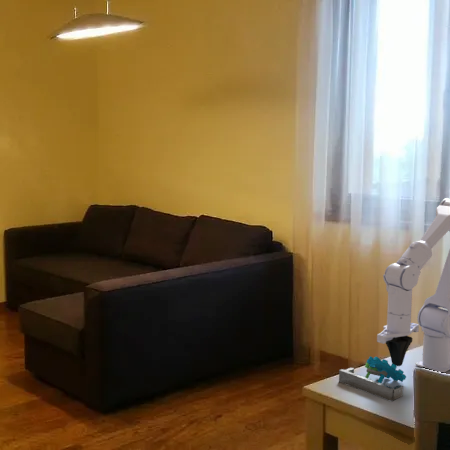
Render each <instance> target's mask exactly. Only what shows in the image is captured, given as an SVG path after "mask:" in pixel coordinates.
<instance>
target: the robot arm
mask: <svg viewBox="0 0 450 450" xmlns="http://www.w3.org/2000/svg"><path fill="white" fill-rule="evenodd" d="M448 232H450V198H449V197H446V198H444V199H442V200H441V202H440V203H439V205H438V206H437V207H436V210H435V217H434V219H433V221H432V222H431V223H430V225H429V226H428V227H427V229H426V231H425V233H424V234H423V235H422V237H421V238H420V240H414V241H412V242H411V243H410V244H408V245H409V246H408V247H407V248H406V250H405V251H404V252H403V253H402V255H401V256H400V257H399V258H398V260H397V261H396V262H393V263H391V264H389V265H388V266H387V267H386V269H385V270H384V274H383V275H382V277H383V282H384V283H385V286H386V287H385V288H386V292H387V311H386V313H387V315H386V325H383V326H382V327H383V330H382V331H381V332H380V333H377V335H376V342H377V343H379V344H383V345H385V344H386V347H387V349H388V353H389V355H390V361H391V365H392V364H394V365H396V366H397V367H400V366H403V363H404V361H405V356H406V354H407V351H408V349H409V348H410V346H411V343H412V342H413V337H412V336H410V335H411V334H412V333H418V332H419V330H420V327H421V332H423V339H422V340H423V341H422V342H423V343H422V360H420V361H418V362H415V366H416V367H417V366H418V367H421V368H423V367H425V368H424V369H426V368H429V369H432V370H435V371H440V372H444V373H446V372H448V371H450V249H449V250H448V253H447V256H446V260H445V261H444V265H443V269H442V271H441V275H440V278H439V281H438V283H437V287H436V289H435V293H434V294H432V295H431V296H428V297H427V298H425V299H424V302H423V305H422V307H421V308H420V309H419V311H418V313H417V319H416V320H417V323H414V322H412V305H413V304H412V302H413V301H412V300H413V289H414V288H415V287H416V286H417V284H418V282H419V278H420V275H421V272H422V269H423V268H424V266H425V265H426V264H427V263H428V262H429V261H430V259H431V258H432V256H433V250H432V249H433V248H434V247H435V246H436V245H437V244H438V243H439V241H441V239H442V238H443V237H444V236H445V235H446V233H448ZM429 369H428V370H429ZM432 370H431V371H432ZM435 371H434V372H435Z"/></svg>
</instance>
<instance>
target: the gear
mask: <svg viewBox="0 0 450 450" xmlns="http://www.w3.org/2000/svg"><path fill="white" fill-rule="evenodd" d="M364 367H365V368H366V372H367V373H366V375H365V376H364V377H365V378H368V379H369V377H370V375H374V376H378V377H379V378H378V380H377V382H379V383H382V384H383V381H384V380H385V378H386V379H390V378H391V379H392V380H393V381H394V382H398V381H399V382H401V383H402V382H404V381H405V380H406V378H407V376H406V374H404V373H405V372H404V371H403V370H402V369H400V368H399V369H398V370H397V367H398V366H396V365H394V364H392V363H391V364H389V361H388V360H387V359H384V358H383V359H381V358H380V357H378V356H374V357H373V356H369V357H368V359H367V360H366V363H365V365H364Z"/></svg>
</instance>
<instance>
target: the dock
mask: <svg viewBox="0 0 450 450" xmlns="http://www.w3.org/2000/svg"><path fill="white" fill-rule="evenodd" d="M377 381H378V380H377ZM377 381H376V380H374V379H371V378H369V377H368V378H365V376H362V375H360V374H358V373H355V368H354V367H349V368H346V369H344V368H343V369H342V368H341V369H339V370H338V382H339V383H342V384H345V385H346V386H350V387H352V388H355V389H357V390H360V391H363V392H366V393H368V394H370V395H374V396H376V397H378V398H381V399H385V400H386V401H390V402H393V401H395V400H397V399H400V398H402V397H403V396H404V394H403V393H404V385H401V384H398V385H396V386H390V385H387V384H385V383H383V382H382V383H379V382H377Z"/></svg>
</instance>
